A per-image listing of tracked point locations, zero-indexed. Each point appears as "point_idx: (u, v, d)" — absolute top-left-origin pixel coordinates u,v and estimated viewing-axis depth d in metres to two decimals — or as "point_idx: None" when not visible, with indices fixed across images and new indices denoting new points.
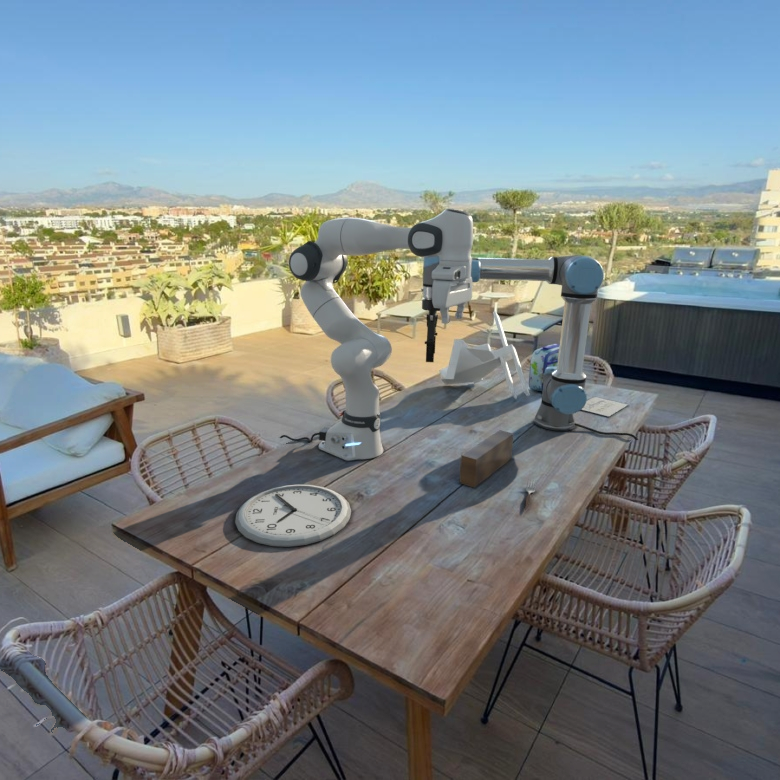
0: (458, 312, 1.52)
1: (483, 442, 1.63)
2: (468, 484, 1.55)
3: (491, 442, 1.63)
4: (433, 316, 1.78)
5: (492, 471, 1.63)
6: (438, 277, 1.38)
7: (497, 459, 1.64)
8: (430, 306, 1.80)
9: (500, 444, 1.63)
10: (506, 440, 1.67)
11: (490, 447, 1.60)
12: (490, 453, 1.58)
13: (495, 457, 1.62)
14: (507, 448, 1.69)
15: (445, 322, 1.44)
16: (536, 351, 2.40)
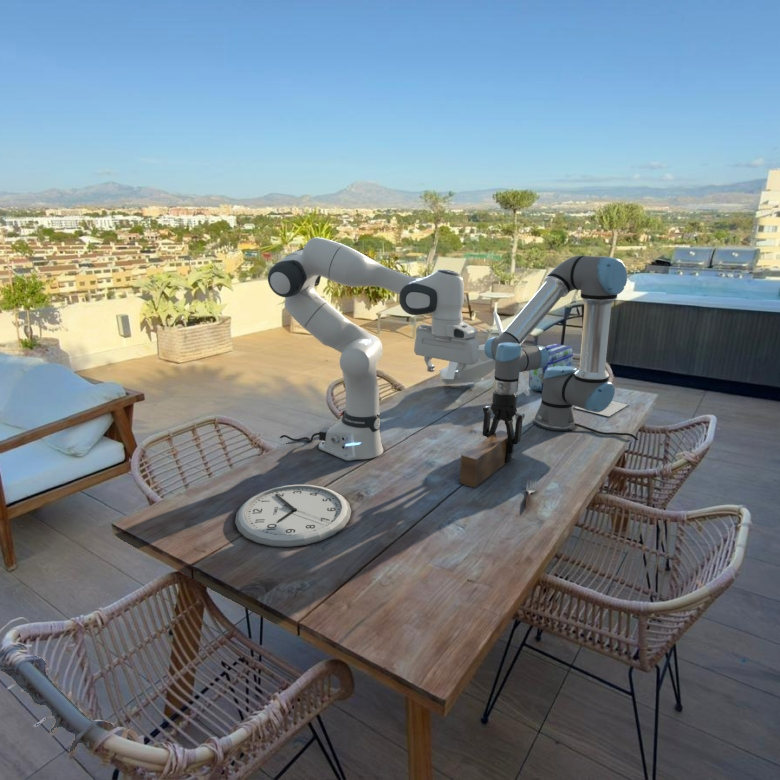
0: (431, 365, 1.56)
1: (483, 442, 1.63)
2: (468, 484, 1.55)
3: (491, 442, 1.63)
4: (523, 416, 1.64)
5: (492, 471, 1.63)
6: (471, 336, 1.45)
7: (497, 459, 1.64)
8: (515, 402, 1.63)
9: (500, 444, 1.63)
10: (506, 440, 1.67)
11: (490, 447, 1.60)
12: (490, 453, 1.58)
13: (495, 457, 1.62)
14: None
15: (460, 376, 1.51)
16: None
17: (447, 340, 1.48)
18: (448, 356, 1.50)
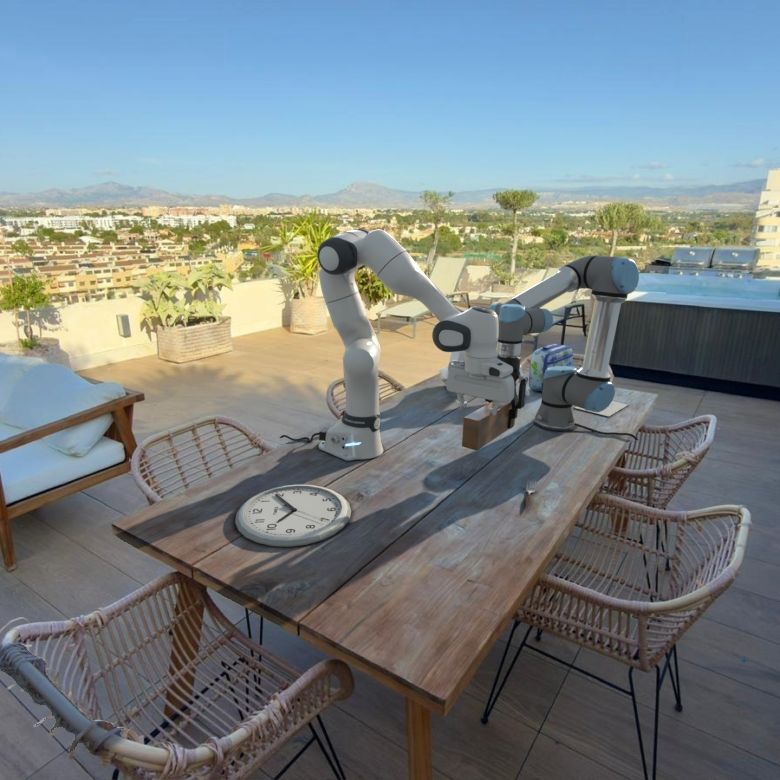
0: (464, 402, 1.53)
1: (486, 406, 1.60)
2: (471, 447, 1.51)
3: None
4: (527, 379, 1.60)
5: (495, 435, 1.59)
6: (507, 374, 1.42)
7: (500, 423, 1.60)
8: (518, 365, 1.60)
9: (503, 408, 1.60)
10: (509, 404, 1.63)
11: None
12: (493, 416, 1.55)
13: (498, 421, 1.59)
14: None
15: (495, 413, 1.48)
16: (536, 351, 2.40)
17: (482, 378, 1.45)
18: (483, 394, 1.47)
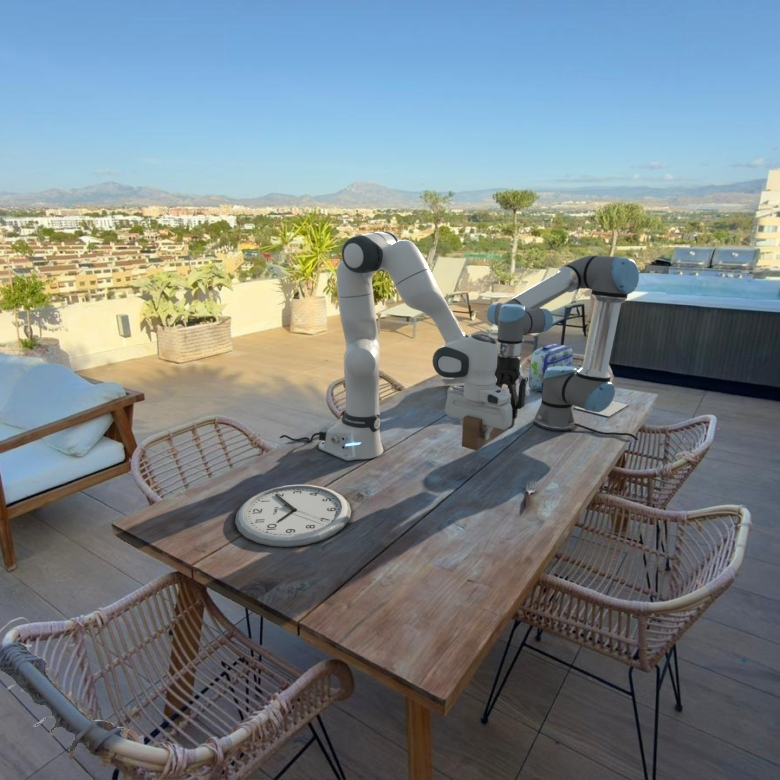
0: None
1: None
2: (470, 447, 1.51)
3: None
4: (527, 379, 1.60)
5: (495, 435, 1.59)
6: (505, 402, 1.44)
7: None
8: (518, 365, 1.60)
9: None
10: None
11: None
12: None
13: None
14: None
15: (488, 437, 1.52)
16: (536, 351, 2.40)
17: (480, 404, 1.48)
18: None
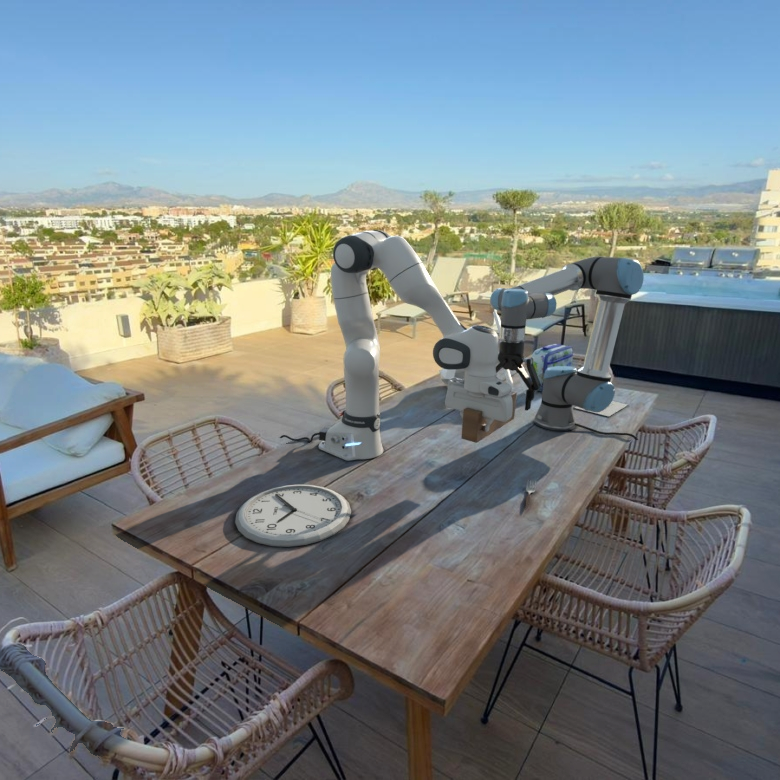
0: None
1: None
2: (470, 439, 1.51)
3: None
4: (532, 359, 1.60)
5: (495, 428, 1.59)
6: (506, 393, 1.44)
7: None
8: (522, 349, 1.60)
9: None
10: None
11: None
12: None
13: None
14: None
15: (488, 430, 1.51)
16: (536, 351, 2.40)
17: (480, 396, 1.47)
18: None
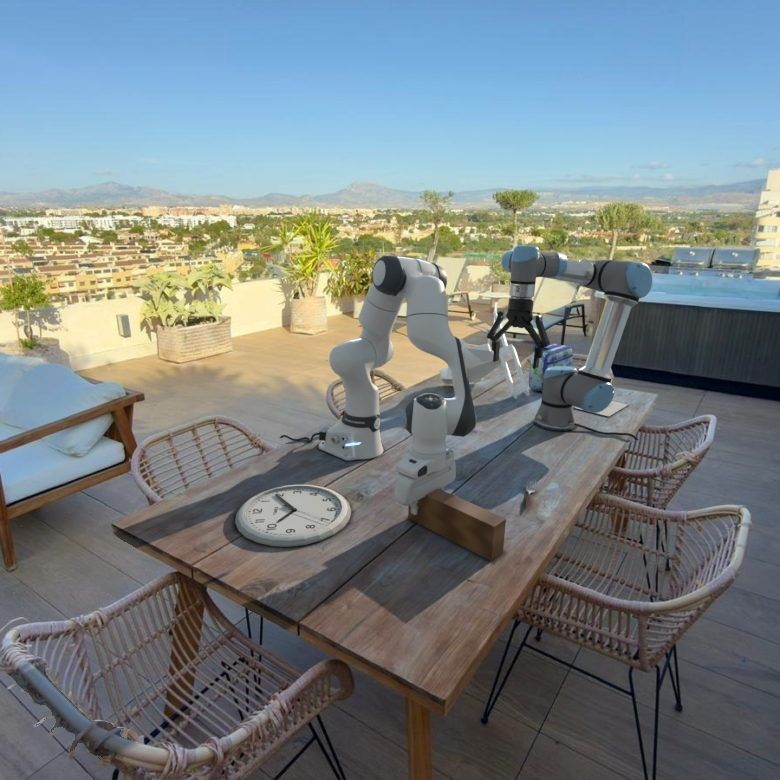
0: None
1: (458, 499, 1.29)
2: None
3: (458, 504, 1.26)
4: (541, 316, 1.59)
5: (443, 533, 1.29)
6: (401, 472, 1.26)
7: (453, 527, 1.26)
8: (531, 306, 1.59)
9: (458, 511, 1.24)
10: (473, 519, 1.21)
11: (442, 500, 1.28)
12: (436, 504, 1.29)
13: (449, 521, 1.27)
14: (477, 534, 1.21)
15: (414, 513, 1.31)
16: None
17: None
18: None
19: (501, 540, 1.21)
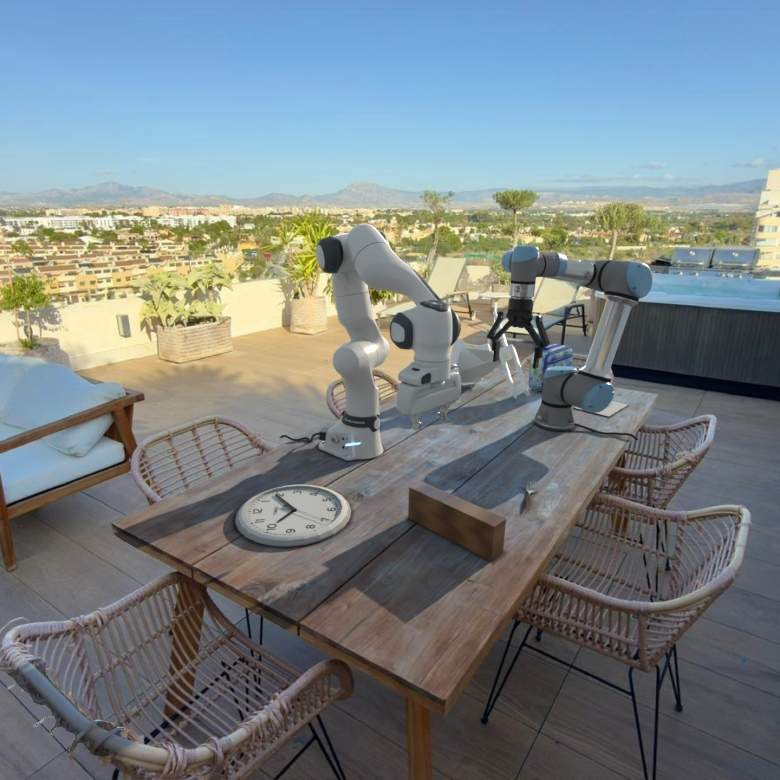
0: (441, 413, 1.31)
1: (458, 499, 1.29)
2: None
3: (458, 504, 1.26)
4: (541, 316, 1.59)
5: (443, 533, 1.29)
6: (404, 380, 1.19)
7: (453, 527, 1.26)
8: (531, 306, 1.59)
9: (458, 511, 1.24)
10: (473, 519, 1.21)
11: (442, 500, 1.28)
12: (436, 504, 1.29)
13: (449, 521, 1.27)
14: (477, 534, 1.21)
15: (415, 428, 1.24)
16: None
17: None
18: None
19: (501, 540, 1.21)
